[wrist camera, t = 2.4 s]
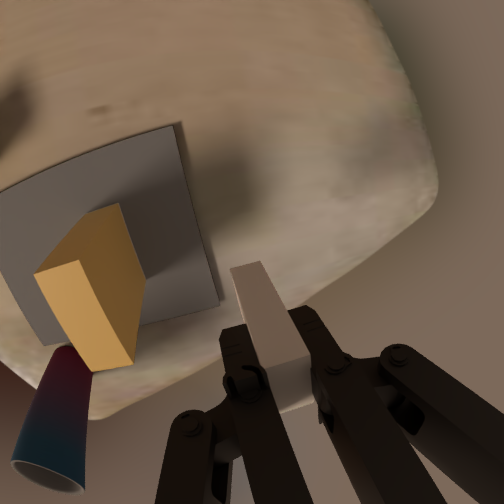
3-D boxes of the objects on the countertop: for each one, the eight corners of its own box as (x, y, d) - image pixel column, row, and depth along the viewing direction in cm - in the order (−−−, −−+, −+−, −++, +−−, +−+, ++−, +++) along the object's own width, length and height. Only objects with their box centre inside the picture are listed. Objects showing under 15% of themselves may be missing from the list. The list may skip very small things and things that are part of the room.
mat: (-22, 205, 18) (-25, 207, 17) (172, 125, 20) (172, 125, 20) (45, 342, 25) (43, 346, 25) (219, 302, 27) (220, 305, 27)
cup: (109, 381, 29) (98, 498, 16) (61, 382, 28) (38, 488, 15) (88, 338, 26) (58, 467, 13) (37, 340, 25) (-5, 454, 12)
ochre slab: (85, 213, 21) (33, 274, 12) (118, 202, 21) (78, 259, 12) (115, 287, 24) (91, 371, 15) (146, 279, 24) (133, 364, 15)
